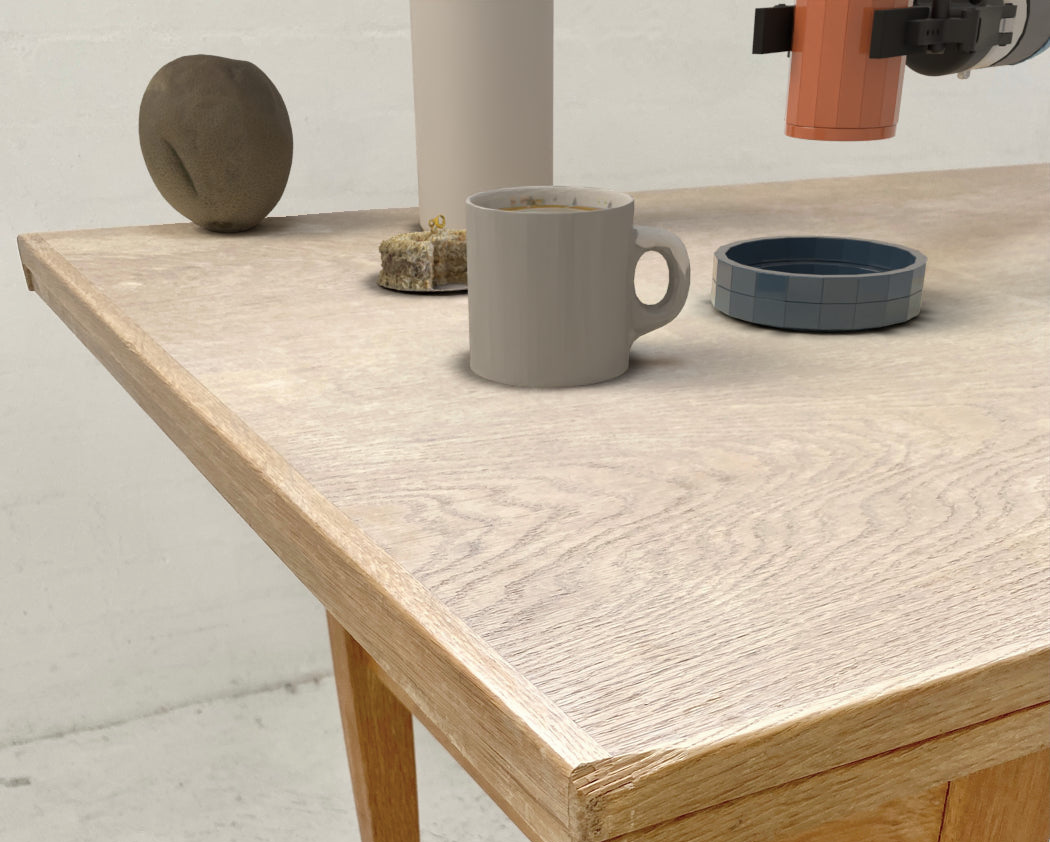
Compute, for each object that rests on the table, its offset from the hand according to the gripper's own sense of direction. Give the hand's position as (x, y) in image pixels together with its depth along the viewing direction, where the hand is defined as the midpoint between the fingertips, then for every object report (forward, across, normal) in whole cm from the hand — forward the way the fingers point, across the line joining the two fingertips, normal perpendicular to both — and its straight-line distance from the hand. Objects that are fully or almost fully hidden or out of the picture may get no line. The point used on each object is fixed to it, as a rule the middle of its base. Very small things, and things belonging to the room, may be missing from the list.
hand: (816, 33), depth 83 cm
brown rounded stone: (+2, +59, -18) cm, 62 cm away
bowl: (-1, -1, -18) cm, 18 cm away
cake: (+8, +27, -18) cm, 33 cm away
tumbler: (-5, 0, -6) cm, 8 cm away
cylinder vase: (-12, +39, -18) cm, 44 cm away
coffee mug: (+20, +4, -18) cm, 28 cm away
